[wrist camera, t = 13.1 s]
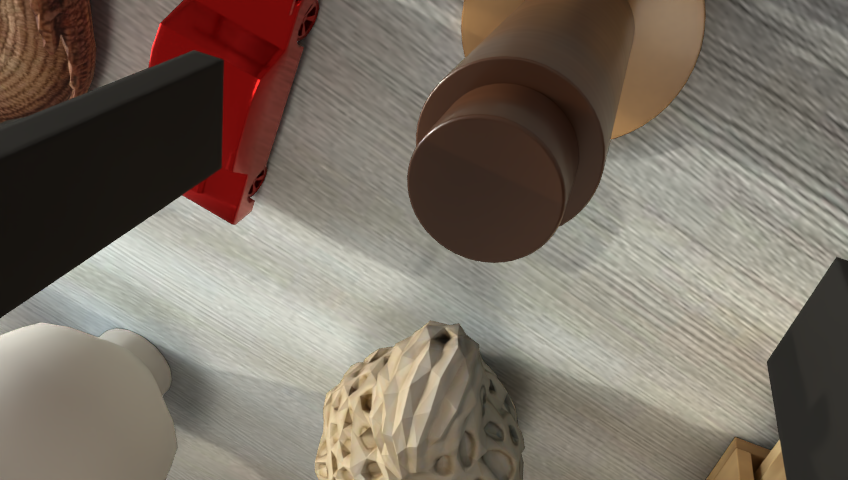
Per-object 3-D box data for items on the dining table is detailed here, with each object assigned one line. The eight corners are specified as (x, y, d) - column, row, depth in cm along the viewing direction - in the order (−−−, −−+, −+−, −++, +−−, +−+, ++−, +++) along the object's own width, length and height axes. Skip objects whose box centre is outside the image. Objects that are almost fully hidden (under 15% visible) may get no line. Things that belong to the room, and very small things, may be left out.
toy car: (234, -80, 31) (166, -70, 26) (337, -22, 30) (285, -3, 26) (181, 159, 39) (122, 195, 34) (262, 206, 38) (213, 248, 34)
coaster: (750, -68, 24) (752, -66, 24) (649, 167, 30) (649, 173, 29) (495, -130, 26) (491, -130, 26) (444, 103, 32) (440, 107, 31)
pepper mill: (653, -11, 26) (629, 127, 13) (611, 102, 28) (555, 313, 15) (535, -42, 27) (400, 57, 14) (505, 71, 29) (367, 246, 16)
